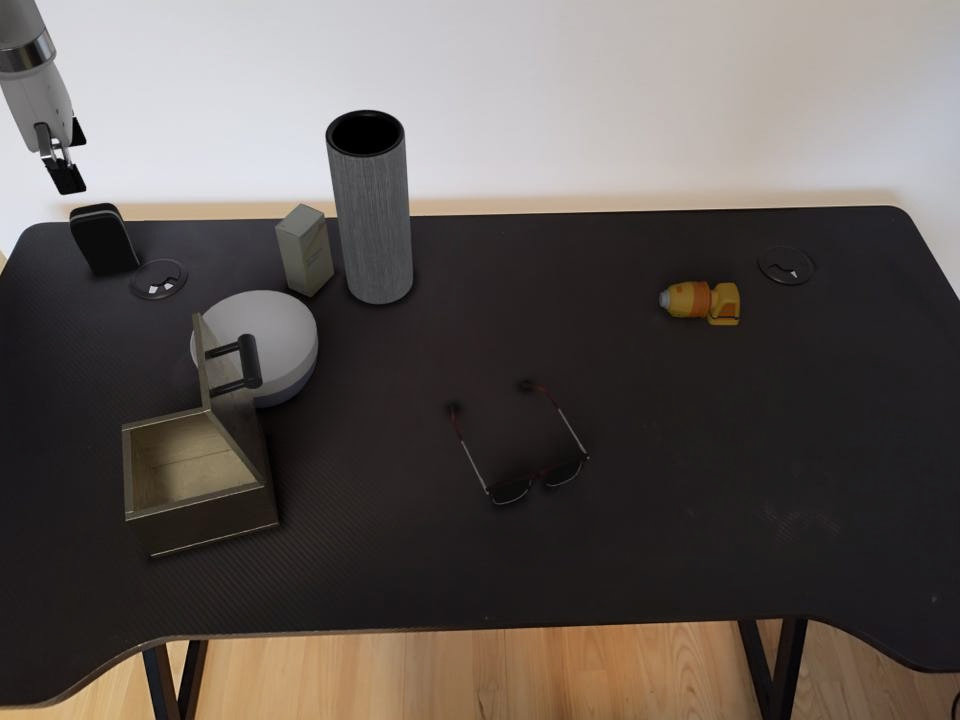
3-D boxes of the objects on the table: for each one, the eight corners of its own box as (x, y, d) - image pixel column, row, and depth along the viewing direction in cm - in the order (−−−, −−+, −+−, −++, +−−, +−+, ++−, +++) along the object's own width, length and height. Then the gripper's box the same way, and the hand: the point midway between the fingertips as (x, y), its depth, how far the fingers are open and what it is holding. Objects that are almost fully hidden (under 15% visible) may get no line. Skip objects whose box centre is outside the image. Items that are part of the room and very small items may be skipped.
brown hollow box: (152, 559, 93) (125, 520, 85) (147, 467, 100) (121, 424, 92) (280, 526, 96) (264, 486, 88) (265, 439, 103) (250, 395, 95)
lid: (202, 412, 75) (258, 394, 75) (191, 313, 82) (241, 298, 83) (260, 485, 88) (307, 469, 88) (246, 394, 95) (289, 380, 95)
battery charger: (140, 252, 123) (115, 195, 114) (141, 269, 121) (116, 213, 112) (92, 262, 122) (63, 205, 113) (93, 279, 120) (64, 222, 111)
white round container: (265, 449, 102) (250, 407, 95) (183, 387, 108) (163, 343, 100) (350, 372, 110) (342, 327, 103) (269, 318, 116) (256, 272, 108)
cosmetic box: (311, 298, 118) (298, 239, 109) (287, 287, 120) (272, 227, 110) (335, 272, 122) (325, 212, 112) (312, 262, 123) (300, 201, 114)
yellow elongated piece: (659, 325, 117) (740, 326, 117) (666, 300, 113) (750, 301, 113) (654, 298, 120) (733, 299, 121) (661, 273, 116) (743, 273, 116)
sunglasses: (486, 512, 98) (486, 490, 94) (440, 415, 107) (439, 392, 104) (586, 477, 101) (590, 454, 97) (533, 386, 111) (535, 362, 107)
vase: (336, 295, 119) (311, 146, 98) (363, 251, 125) (344, 101, 104) (398, 312, 117) (386, 164, 96) (422, 266, 123) (416, 117, 102)
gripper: (-14, 11, 94) (45, 132, 107) (-26, 95, 84) (41, 217, 97) (53, 3, 95) (104, 124, 109) (49, 84, 85) (105, 206, 99)
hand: (74, 168), depth 103 cm, fingers open, 9 cm apart
